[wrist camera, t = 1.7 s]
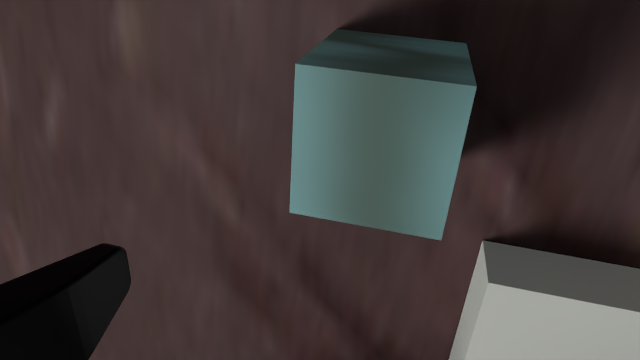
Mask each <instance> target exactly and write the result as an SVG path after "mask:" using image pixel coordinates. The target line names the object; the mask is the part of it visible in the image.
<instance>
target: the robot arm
mask: <svg viewBox="0 0 640 360" xmlns="http://www.w3.org/2000/svg"><path fill="white" fill-rule="evenodd" d="M130 284H131V277H130V271H129V265H128V259H127V253H126V251H125V249H124V248H122V247H120V246H115V245H111V244H106V243H103V244H99V245H97V246H94V247H92V248H89V249H87V250H84V251H82V252H80V253H77V254H75V255H72V256H70V257H67V258H65V259H62V260H60V261H57V262H55V263H52V264H50V265H47V266H45V267H42V268H40V269H37V270H35V271H33V272H30V273H28V274H25V275H23V276H20V277H18V278H15V279H13V280H10V281H8V282H5V283H3V284H0V360H88V359H89V358H90V356H91V355H92V353H93V351H94V350H95V348H96V346H97V344H98V343H99V341H100V339H101V338H102V336H103V334H104V332H105V331H106V329H107V327H108V326H109V324H110V322H111V320H112V319H113V317H114V315H115V313H116V312H117V310H118V308H119V307H120V305H121V303H122V301H123V300H124V298H125V296H126V294H127V293H128V291H129V288H130Z"/></svg>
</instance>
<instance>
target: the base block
mask: <svg viewBox="0 0 640 360" xmlns="http://www.w3.org/2000/svg"><path fill="white" fill-rule="evenodd" d="M449 360H640V269H638V268H633V267H627V266H622V265H616V264H611V263H605V262H600V261H594V260H589V259H583V258H577V257H572V256H566V255H561V254H555V253H550V252H544V251H539V250H533V249H528V248H522V247H517V246H511V245H506V244H500V243H495V242H489V241H484V240H483V241H482V244H481V248H480V251H479V255H478V258H477V262H476V265H475V269H474V272H473V276H472V279H471V283H470V286H469V290H468V293H467V297H466V300H465V304H464V307H463V311H462V314H461V318H460V321H459V325H458V328H457V332H456V336H455V339H454V343H453V346H452V350H451V353H450V357H449Z"/></svg>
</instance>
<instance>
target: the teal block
mask: <svg viewBox="0 0 640 360" xmlns="http://www.w3.org/2000/svg"><path fill="white" fill-rule="evenodd" d="M476 88H477V85H476V81H475V77H474V72H473V68H472V64H471V60H470V56H469V52H468V48H467V44H466V43H460V42H450V41H441V40H432V39H423V38H414V37H405V36H396V35H387V34H378V33H369V32H360V31H351V30H342V29H336V30H335V31H334V32H333V33H331V34H330V35H329V36H328V37H327V38H325V39H324V40H323V41H322V42H321V43H320V44H318V45H317V46H316V47H315V48H314V49H312V50H311V51H310V52H309V53H308V54H306V55H305V56H304V57H303V58H302V59H301V60H299V61H298V62H297V63H296V64H295V87H294V113H293V138H292V164H291V190H290V213H295V214H300V215H306V216H311V217H317V218H322V219H328V220H333V221H338V222H344V223H349V224H355V225H360V226H366V227H371V228H377V229H382V230H387V231H393V232H398V233H404V234H409V235H415V236H420V237H426V238H431V239H436V240H441V239H442V234H443V230H444V226H445V222H446V217H447V213H448V209H449V204H450V200H451V196H452V191H453V187H454V183H455V179H456V174H457V170H458V166H459V161H460V157H461V153H462V148H463V144H464V140H465V136H466V131H467V127H468V123H469V118H470V114H471V110H472V105H473V101H474V97H475V93H476Z"/></svg>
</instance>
